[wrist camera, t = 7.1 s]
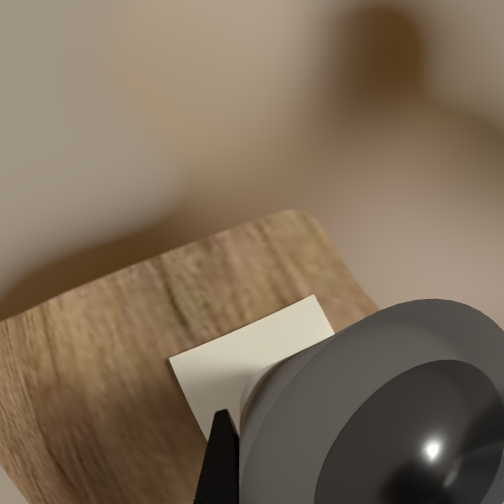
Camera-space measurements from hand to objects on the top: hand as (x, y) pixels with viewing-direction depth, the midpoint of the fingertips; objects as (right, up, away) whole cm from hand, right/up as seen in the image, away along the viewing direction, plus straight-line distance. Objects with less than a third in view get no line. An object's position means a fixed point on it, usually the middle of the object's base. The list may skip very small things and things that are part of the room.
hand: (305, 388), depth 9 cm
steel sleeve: (0, -4, +5) cm, 7 cm away
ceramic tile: (0, -6, +10) cm, 11 cm away
